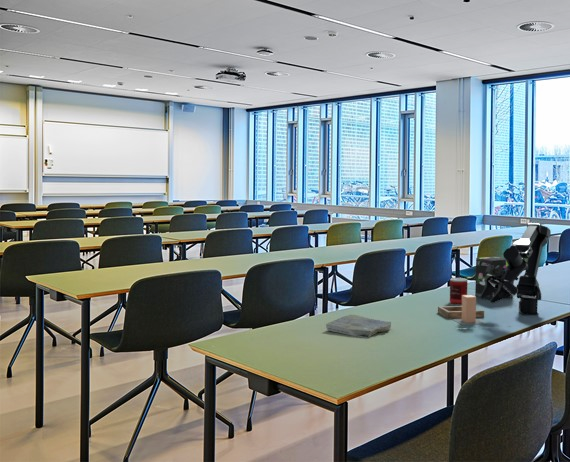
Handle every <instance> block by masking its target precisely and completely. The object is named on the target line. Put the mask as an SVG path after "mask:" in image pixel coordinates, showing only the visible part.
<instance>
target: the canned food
mask: <svg viewBox="0 0 570 462" xmlns="http://www.w3.org/2000/svg"><path fill="white" fill-rule="evenodd" d="M462 295H468V279H467V278H463V277H451V278H450V280H449V303H450V304H453V305H462Z"/></svg>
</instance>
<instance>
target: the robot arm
mask: <svg viewBox="0 0 570 462" xmlns="http://www.w3.org/2000/svg"><path fill="white" fill-rule="evenodd" d="M550 238H551V229H550V228H549V227H548V226H545V225H542V224H541V223H537V222H536V223H535V222H533V223H532V222H529V223H527V224H526V229H525V230H524V232H523V234H522V235H521V237H520V239H518V240H515V241H514V242H513V243H512V245H510V247H508V248H506V249H505V250H504V251H503V253H502V255H503V256H502V257H504V258H505V260H506V262H507V263H508V266H507V267H506V268H503V267H502V266H499V265H498V266H496V267H495V266H492V265H488V267H487V269H486V272H487V273H491V274H493V275H494V276H492V275H486V276H485V277H484V281H485V288H484V290H483V292H482V294H481V296H480V297H479V298H480V299H481V300H483V299H486V298H485V297H487V296H488V295H490V294H492V293H493V292H495V291H497V289H498V291H497V292H496V294H495V295H494V296H493V298H492V299H491V300H490V303H491V304H495V303H496V302H499V301H501V300H503V299H504V298H506V299H508V298H507V297H509V296H512V295H513V297H514V296H515V295H516V299H520V300H519V301H518V312H519V313H520V314H522V315H535V316H536V315H539V314H540V313H538V302H539V301H541V300H542V291H541V289H540V288H541V287H540V283H539V281H538V279H537V276H538V271H539V268H540V267H539V266H540V261H541V256H542V251H543V247H545V246H546V245H547V244H548V243H549V239H550ZM525 259H527V261H525ZM524 270H525V272H524ZM523 272H524V274H523V275H521V274H522V273H523ZM513 281H514V282H515V281H518V283H517V284H516V285H513V284H512V283H513ZM511 294H512V295H511ZM504 300H505V299H504Z"/></svg>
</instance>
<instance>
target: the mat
mask: <svg viewBox="0 0 570 462" xmlns="http://www.w3.org/2000/svg"><path fill="white" fill-rule="evenodd" d="M451 320H452V321H454V322H456V323H457V324H458V325H460V326H475V325H487V323H486V322H484V321H482V320H480V319H478V318H476V322H468V323H466V322H464V321H462V318H451Z"/></svg>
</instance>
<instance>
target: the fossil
mask: <svg viewBox="0 0 570 462" xmlns="http://www.w3.org/2000/svg"><path fill="white" fill-rule="evenodd" d="M325 327H326V330H327V331H329V332H333V333H338V334H339V333H340V334H344V335H347V336H348V335H349V336H352V337H357V338H358V337H359V338H365V339H368V338H369V337H371V336H374V335H375V334H377V333H378V334H379V333H381V332H387V331H390V329H391V327H392V322H391V321H385V320H380V319H374V318H369V317H364V316H361V315H358V314H348V315H344V316H342V317H340V318H337V319H335V320H333V321H330V322H328V323H326V325H325Z"/></svg>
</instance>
